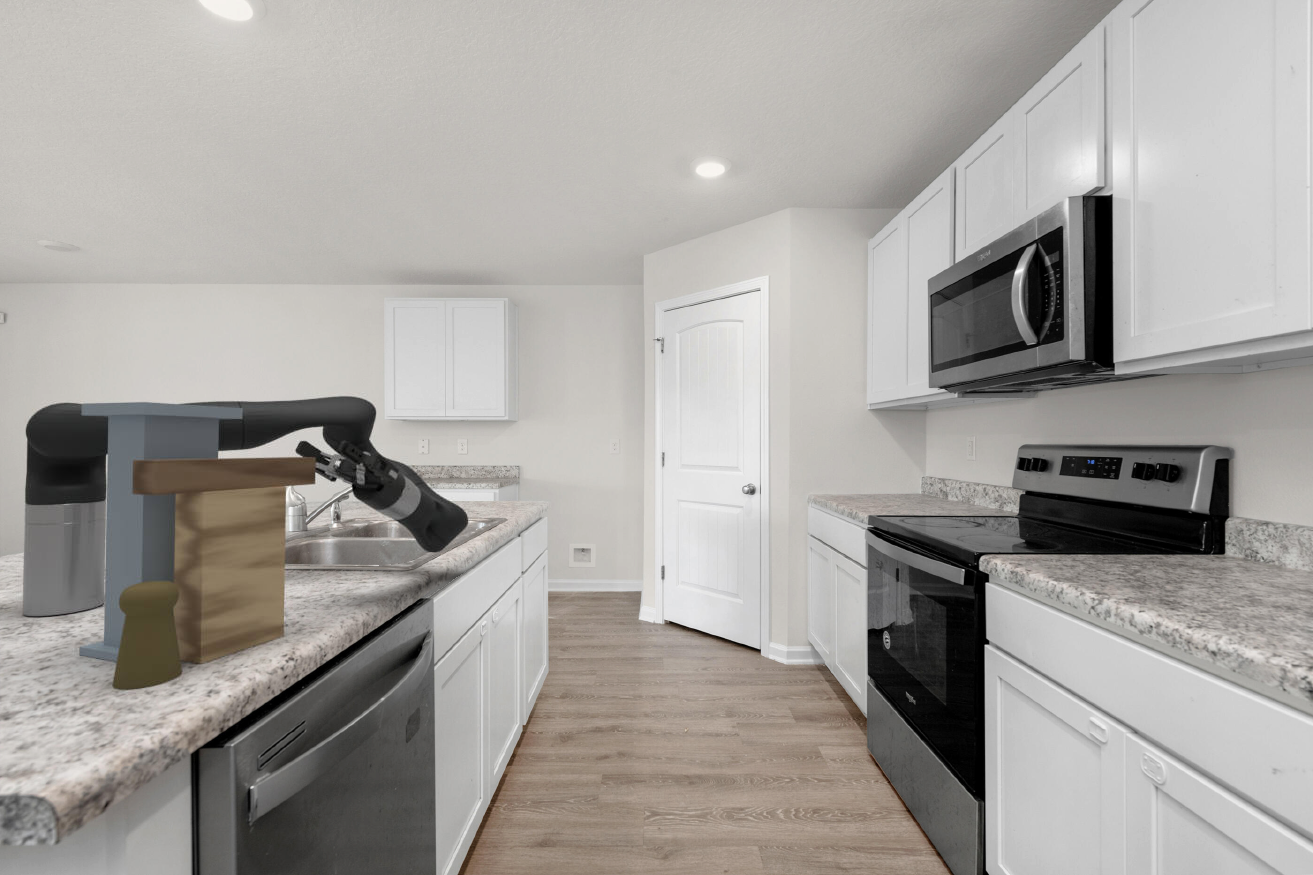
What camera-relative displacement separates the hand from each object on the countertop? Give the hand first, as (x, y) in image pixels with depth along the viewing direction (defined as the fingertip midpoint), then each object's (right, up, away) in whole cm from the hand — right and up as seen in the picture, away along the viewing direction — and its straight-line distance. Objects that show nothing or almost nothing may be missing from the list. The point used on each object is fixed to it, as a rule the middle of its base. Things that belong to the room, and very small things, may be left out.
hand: (319, 445), depth 90 cm
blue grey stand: (-14, -26, -12) cm, 32 cm away
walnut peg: (-4, -6, -12) cm, 14 cm away
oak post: (-4, -27, -13) cm, 30 cm away
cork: (-6, -27, -23) cm, 36 cm away
